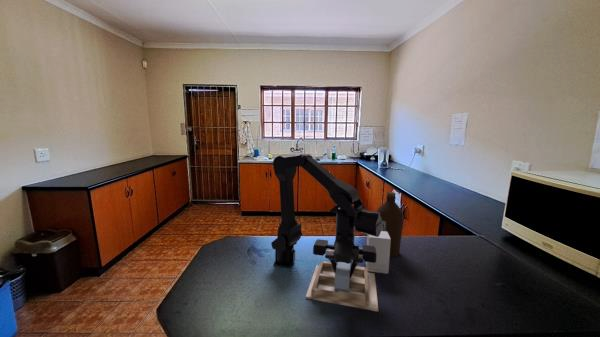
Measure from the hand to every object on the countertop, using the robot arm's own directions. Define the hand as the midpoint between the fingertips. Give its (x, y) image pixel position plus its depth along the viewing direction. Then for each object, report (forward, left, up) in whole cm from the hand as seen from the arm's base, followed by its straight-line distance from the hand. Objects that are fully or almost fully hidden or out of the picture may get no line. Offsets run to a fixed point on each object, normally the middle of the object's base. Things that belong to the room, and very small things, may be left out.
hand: (343, 276), depth 75 cm
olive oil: (+16, +29, -4) cm, 33 cm away
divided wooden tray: (0, 0, -3) cm, 3 cm away
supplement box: (+11, +15, -4) cm, 19 cm away
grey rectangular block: (0, 0, -3) cm, 3 cm away
